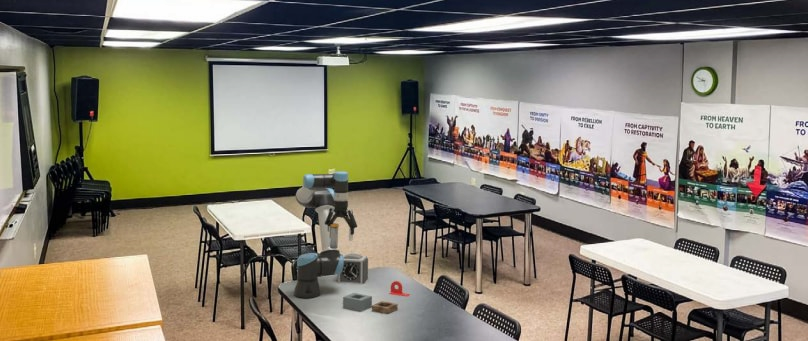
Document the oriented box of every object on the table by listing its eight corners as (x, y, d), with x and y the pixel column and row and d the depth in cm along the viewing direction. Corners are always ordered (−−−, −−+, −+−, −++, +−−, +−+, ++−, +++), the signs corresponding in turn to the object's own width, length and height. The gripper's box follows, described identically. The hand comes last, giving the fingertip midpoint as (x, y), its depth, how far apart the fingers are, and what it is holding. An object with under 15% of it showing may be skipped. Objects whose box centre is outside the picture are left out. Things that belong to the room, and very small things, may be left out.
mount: (371, 311, 337) (371, 305, 337) (381, 306, 346) (382, 301, 345) (387, 314, 332) (387, 308, 332) (397, 309, 340) (397, 303, 340)
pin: (327, 247, 345) (328, 224, 344) (332, 246, 349) (333, 222, 348) (334, 249, 343) (335, 225, 342) (339, 247, 347) (340, 224, 346)
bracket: (388, 295, 367) (388, 282, 367) (391, 293, 372) (391, 280, 371) (408, 297, 363) (408, 284, 363) (410, 295, 368) (410, 282, 367)
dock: (342, 307, 342) (343, 297, 341) (353, 303, 350) (353, 292, 350) (361, 311, 336) (361, 300, 335) (371, 307, 344) (371, 296, 344)
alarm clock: (335, 285, 387) (335, 256, 386) (341, 280, 400) (341, 251, 399) (364, 287, 384) (364, 257, 383) (369, 282, 397) (369, 253, 396)
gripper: (318, 199, 345) (318, 237, 347) (355, 202, 332) (355, 242, 334) (326, 197, 351) (326, 235, 353) (363, 201, 339) (363, 240, 340)
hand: (340, 239), depth 343 cm, fingers open, 13 cm apart
